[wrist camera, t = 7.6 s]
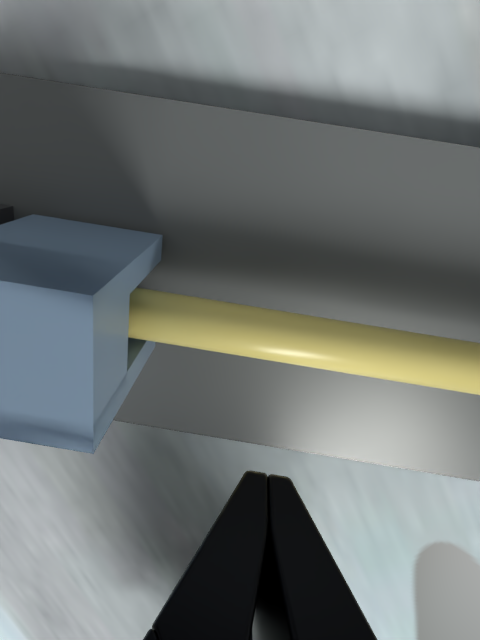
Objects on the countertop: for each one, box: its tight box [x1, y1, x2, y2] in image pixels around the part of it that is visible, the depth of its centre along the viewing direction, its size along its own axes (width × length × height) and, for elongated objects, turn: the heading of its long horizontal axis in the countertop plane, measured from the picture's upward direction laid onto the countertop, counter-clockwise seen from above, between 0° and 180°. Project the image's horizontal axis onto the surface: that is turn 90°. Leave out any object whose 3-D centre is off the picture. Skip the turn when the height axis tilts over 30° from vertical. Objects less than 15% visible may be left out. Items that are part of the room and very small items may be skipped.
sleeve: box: [0, 214, 163, 454], centre depth 14 cm, size 5×5×7 cm
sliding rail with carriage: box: [0, 73, 480, 481], centre depth 15 cm, size 14×26×6 cm, turn 82°
